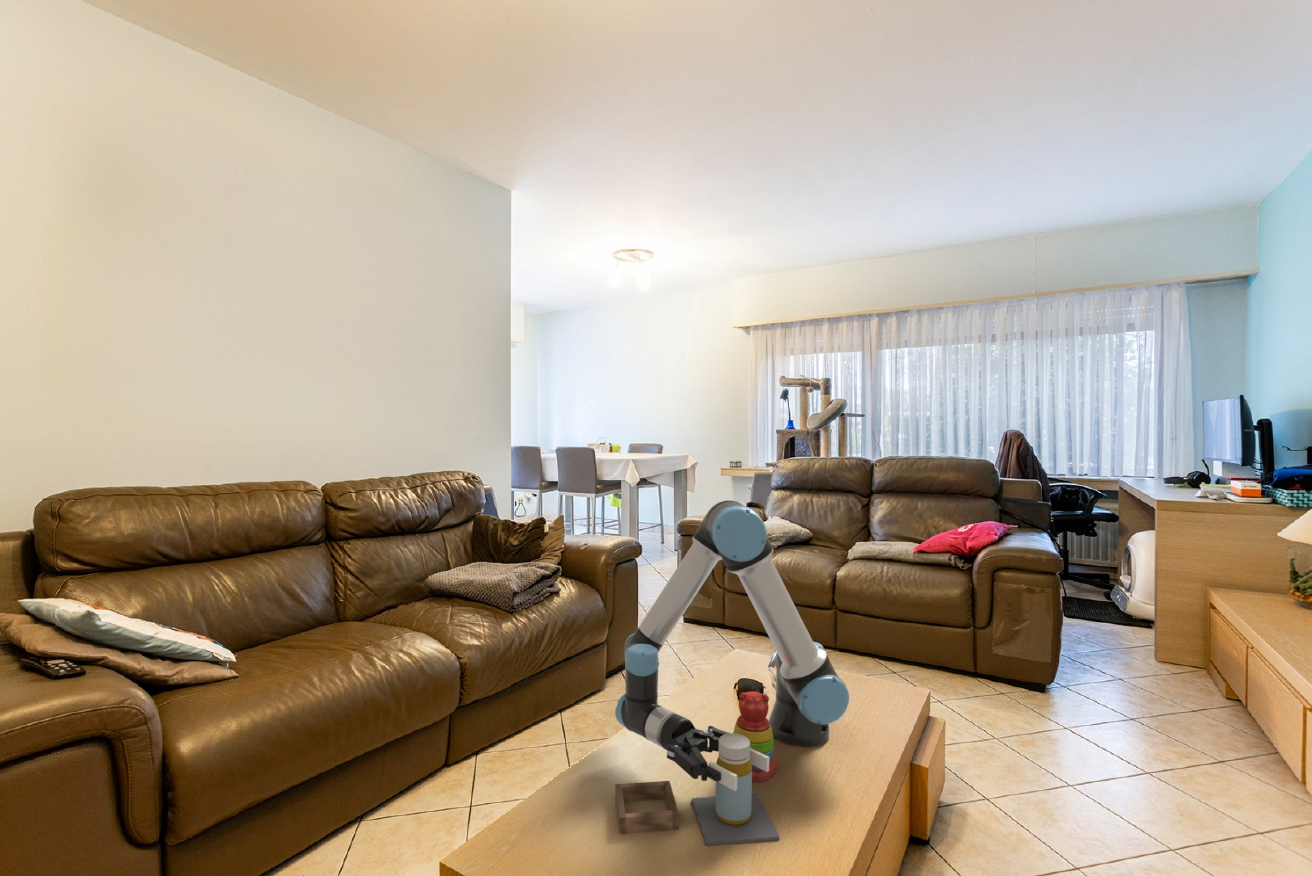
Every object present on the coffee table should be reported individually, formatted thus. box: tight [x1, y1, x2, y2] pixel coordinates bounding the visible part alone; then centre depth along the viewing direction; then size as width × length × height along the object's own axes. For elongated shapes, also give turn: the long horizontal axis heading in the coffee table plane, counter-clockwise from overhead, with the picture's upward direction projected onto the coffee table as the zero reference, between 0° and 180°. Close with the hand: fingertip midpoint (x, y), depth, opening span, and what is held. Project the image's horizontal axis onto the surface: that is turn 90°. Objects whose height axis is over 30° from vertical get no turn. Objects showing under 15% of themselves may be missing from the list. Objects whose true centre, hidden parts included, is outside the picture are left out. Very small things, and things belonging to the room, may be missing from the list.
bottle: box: [715, 733, 753, 826], centre depth 124 cm, size 7×7×15 cm
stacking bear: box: [732, 691, 778, 783], centre depth 142 cm, size 11×10×18 cm
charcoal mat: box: [691, 793, 780, 846], centre depth 124 cm, size 14×14×1 cm
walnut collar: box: [614, 780, 680, 835], centre depth 125 cm, size 11×11×3 cm
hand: (752, 773), depth 120 cm, fingers open, 9 cm apart
